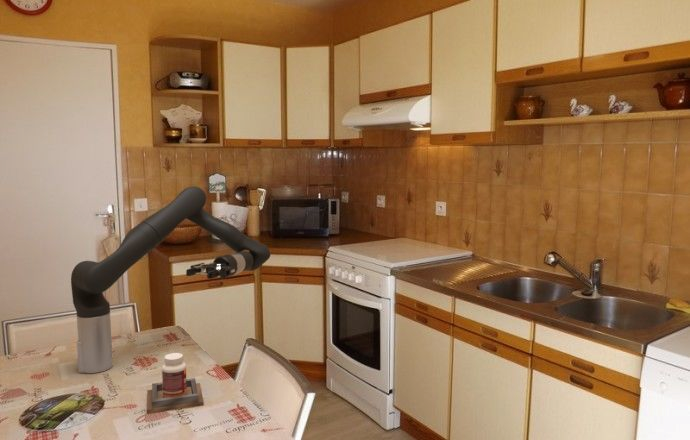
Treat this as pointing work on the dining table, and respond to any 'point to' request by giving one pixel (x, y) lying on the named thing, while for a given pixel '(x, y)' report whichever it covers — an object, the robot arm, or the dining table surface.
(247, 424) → the dining table surface
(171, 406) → the grey shallow rectangular tray
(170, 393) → the pill bottle
